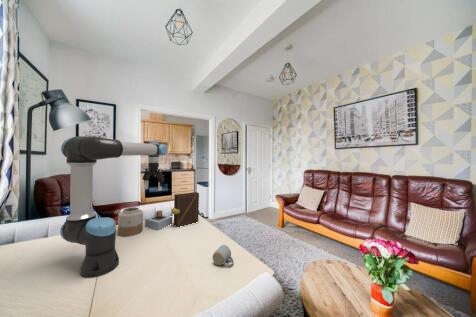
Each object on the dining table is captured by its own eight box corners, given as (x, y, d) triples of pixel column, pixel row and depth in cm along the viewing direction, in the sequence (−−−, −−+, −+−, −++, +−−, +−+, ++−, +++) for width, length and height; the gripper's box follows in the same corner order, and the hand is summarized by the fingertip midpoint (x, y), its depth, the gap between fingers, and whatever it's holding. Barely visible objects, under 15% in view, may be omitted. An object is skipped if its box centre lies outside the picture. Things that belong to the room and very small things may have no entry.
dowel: (163, 219, 143) (163, 210, 143) (158, 220, 139) (159, 212, 139) (159, 218, 145) (159, 210, 145) (154, 219, 141) (155, 211, 141)
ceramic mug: (211, 264, 94) (211, 249, 94) (219, 256, 101) (219, 243, 101) (229, 270, 89) (229, 255, 89) (236, 262, 97) (236, 248, 96)
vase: (121, 228, 134) (122, 206, 134) (144, 227, 139) (144, 205, 138) (114, 237, 119) (115, 213, 119) (139, 235, 124) (140, 211, 124)
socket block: (172, 224, 145) (172, 216, 145) (158, 230, 133) (158, 221, 133) (159, 221, 151) (159, 213, 151) (145, 227, 139) (145, 218, 139)
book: (195, 220, 157) (195, 191, 156) (199, 223, 150) (200, 193, 150) (169, 225, 142) (170, 194, 142) (173, 229, 136) (174, 196, 136)
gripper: (169, 162, 137) (169, 190, 138) (145, 161, 146) (145, 187, 147) (162, 163, 130) (162, 192, 131) (137, 161, 139) (137, 188, 140)
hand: (153, 189), depth 139 cm, fingers open, 13 cm apart
